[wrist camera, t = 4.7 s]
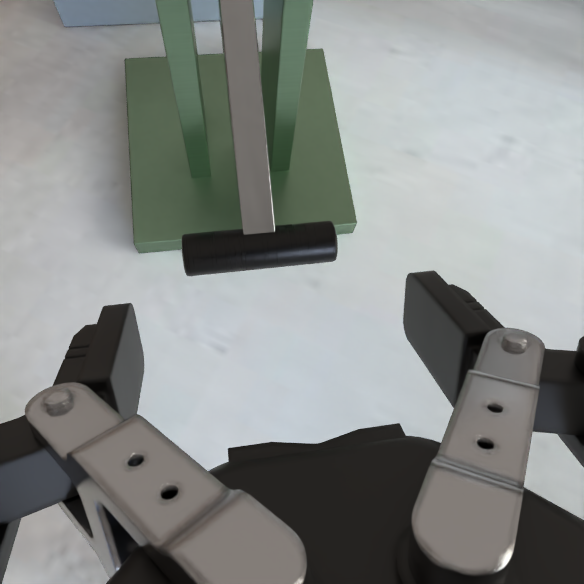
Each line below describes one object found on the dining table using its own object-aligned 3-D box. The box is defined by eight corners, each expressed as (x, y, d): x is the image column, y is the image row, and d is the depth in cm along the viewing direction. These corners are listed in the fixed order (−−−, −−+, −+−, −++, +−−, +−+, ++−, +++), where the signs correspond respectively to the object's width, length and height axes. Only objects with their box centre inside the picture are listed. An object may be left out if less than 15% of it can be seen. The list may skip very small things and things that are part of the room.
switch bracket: (352, 233, 27) (453, 17, 14) (138, 253, 25) (21, 36, 12) (320, 63, 30) (376, -243, 17) (129, 73, 29) (27, -250, 15)
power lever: (327, 259, 19) (342, 263, 17) (188, 273, 18) (184, 279, 16) (299, -90, 18) (311, -140, 15) (146, -87, 17) (133, -139, 15)
